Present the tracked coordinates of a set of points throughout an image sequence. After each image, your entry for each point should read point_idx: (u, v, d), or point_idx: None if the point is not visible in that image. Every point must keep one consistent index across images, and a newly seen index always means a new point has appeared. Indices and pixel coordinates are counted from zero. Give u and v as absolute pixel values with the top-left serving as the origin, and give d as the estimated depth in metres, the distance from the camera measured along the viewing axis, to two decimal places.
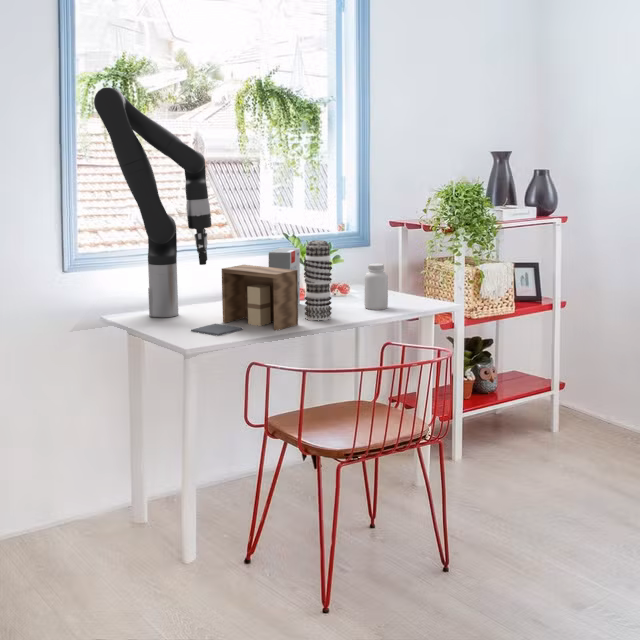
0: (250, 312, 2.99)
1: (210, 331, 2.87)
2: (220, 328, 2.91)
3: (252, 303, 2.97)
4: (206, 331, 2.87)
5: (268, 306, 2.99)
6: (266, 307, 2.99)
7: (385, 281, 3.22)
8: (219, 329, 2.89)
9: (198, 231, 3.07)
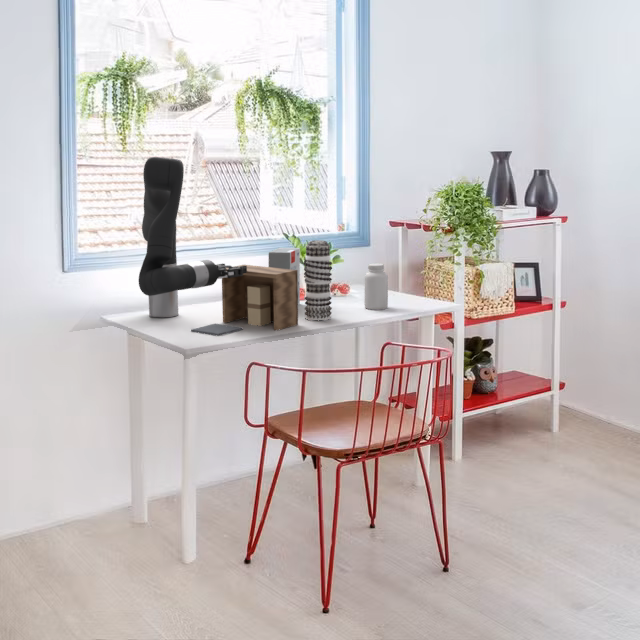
0: (250, 312, 2.99)
1: (210, 331, 2.87)
2: (220, 328, 2.91)
3: (252, 303, 2.97)
4: (206, 331, 2.87)
5: (268, 306, 2.99)
6: (266, 307, 2.99)
7: (385, 281, 3.22)
8: (219, 329, 2.89)
9: None
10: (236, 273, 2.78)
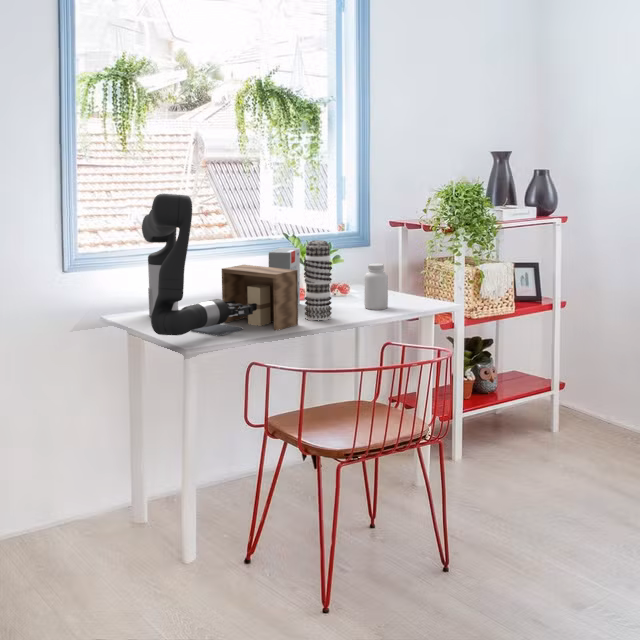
0: None
1: (210, 331, 2.87)
2: (220, 328, 2.91)
3: None
4: (206, 331, 2.87)
5: (268, 306, 2.99)
6: (266, 307, 2.99)
7: (385, 281, 3.22)
8: (219, 329, 2.89)
9: None
10: (246, 312, 2.84)
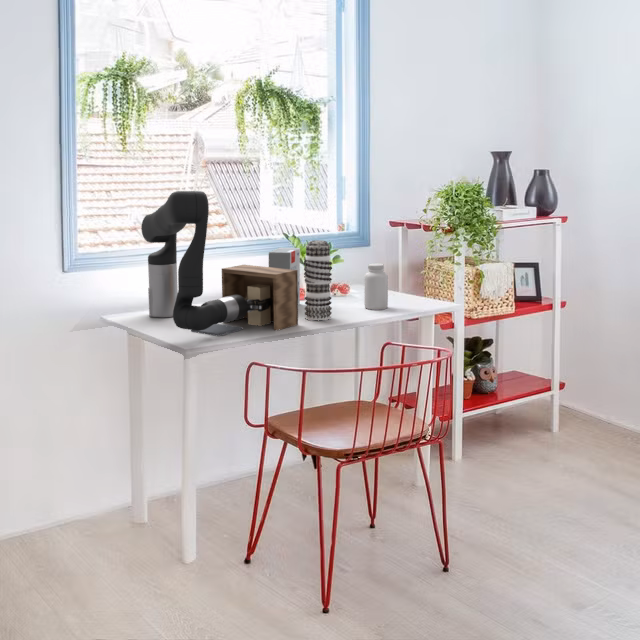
0: (250, 312, 2.99)
1: (210, 331, 2.87)
2: (220, 328, 2.91)
3: None
4: (206, 331, 2.87)
5: None
6: None
7: (385, 281, 3.22)
8: (219, 329, 2.89)
9: None
10: (265, 306, 2.92)
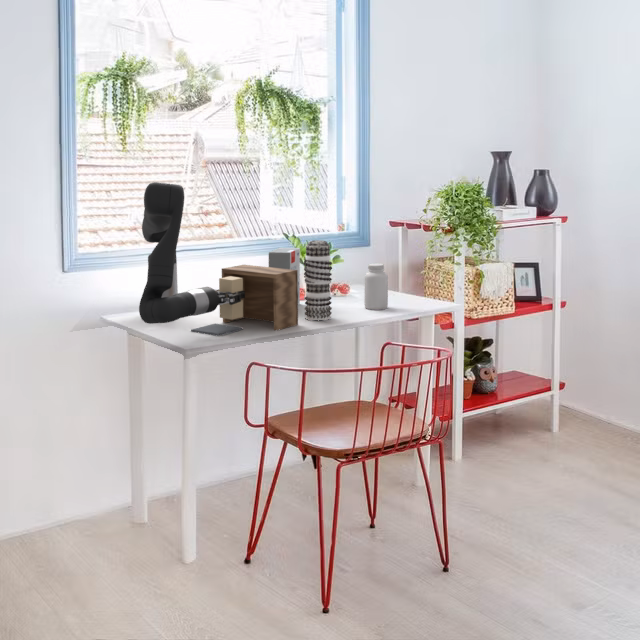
0: (222, 305, 2.88)
1: (210, 331, 2.87)
2: (220, 328, 2.91)
3: None
4: (206, 331, 2.87)
5: None
6: None
7: (385, 281, 3.22)
8: (219, 329, 2.89)
9: None
10: (236, 299, 2.81)
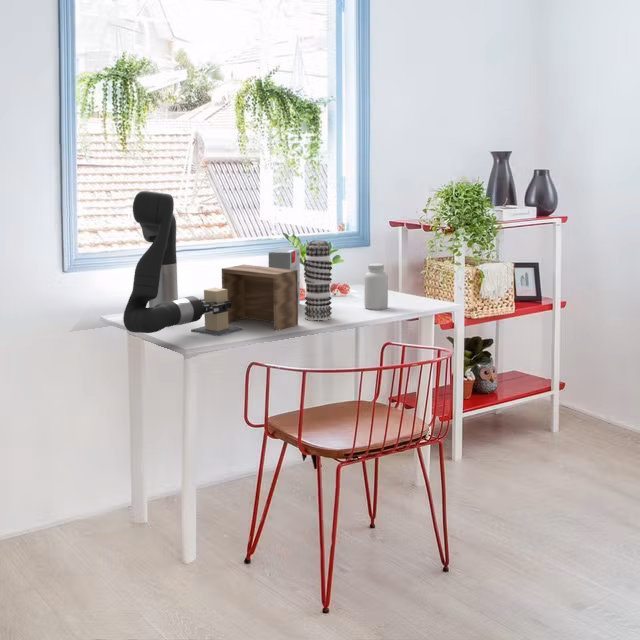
0: (207, 316, 2.89)
1: (210, 331, 2.87)
2: None
3: None
4: (206, 331, 2.87)
5: None
6: None
7: (385, 281, 3.22)
8: None
9: None
10: (221, 309, 2.81)
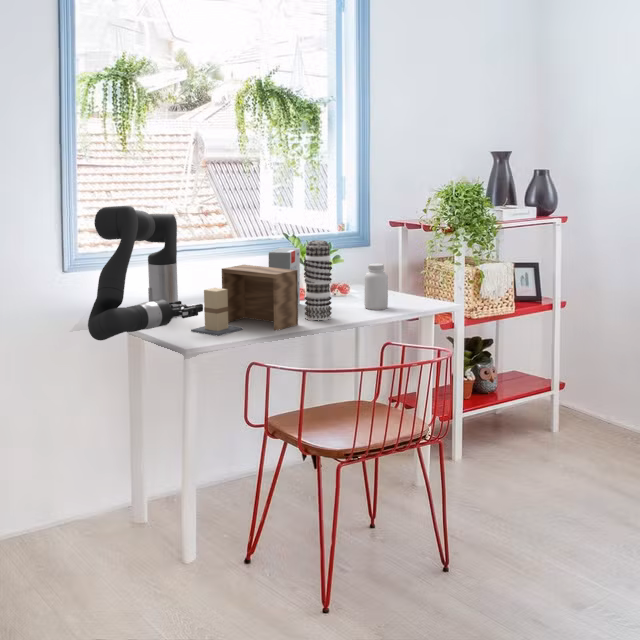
0: (207, 316, 2.89)
1: (210, 331, 2.87)
2: None
3: (209, 307, 2.88)
4: (206, 331, 2.87)
5: (225, 310, 2.89)
6: (224, 311, 2.89)
7: (385, 281, 3.22)
8: None
9: None
10: (191, 313, 2.70)
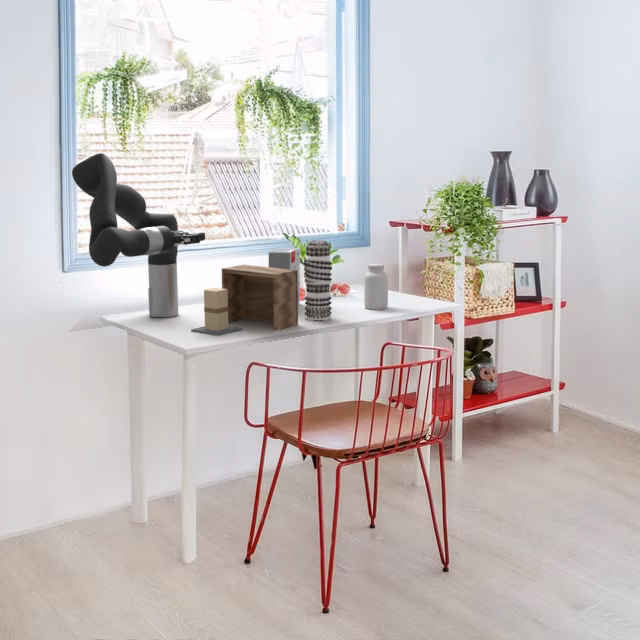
0: (207, 316, 2.89)
1: (210, 331, 2.87)
2: None
3: (209, 307, 2.88)
4: (206, 331, 2.87)
5: (225, 310, 2.89)
6: (224, 311, 2.89)
7: (385, 281, 3.22)
8: None
9: None
10: (193, 240, 2.66)
